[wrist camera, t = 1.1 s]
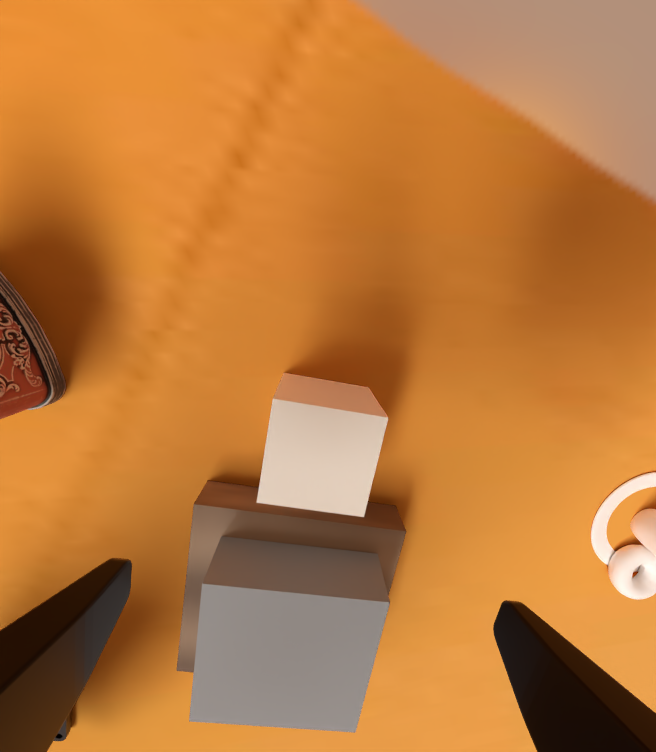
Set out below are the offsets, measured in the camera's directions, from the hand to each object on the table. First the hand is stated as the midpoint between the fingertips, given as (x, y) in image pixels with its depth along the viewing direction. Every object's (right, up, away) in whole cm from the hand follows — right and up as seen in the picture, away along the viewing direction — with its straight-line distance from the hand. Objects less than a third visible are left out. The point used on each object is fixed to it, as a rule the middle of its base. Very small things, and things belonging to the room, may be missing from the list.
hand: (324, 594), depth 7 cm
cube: (0, +3, +11) cm, 11 cm away
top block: (-2, -9, +11) cm, 14 cm away
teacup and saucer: (+19, -6, +15) cm, 25 cm away
